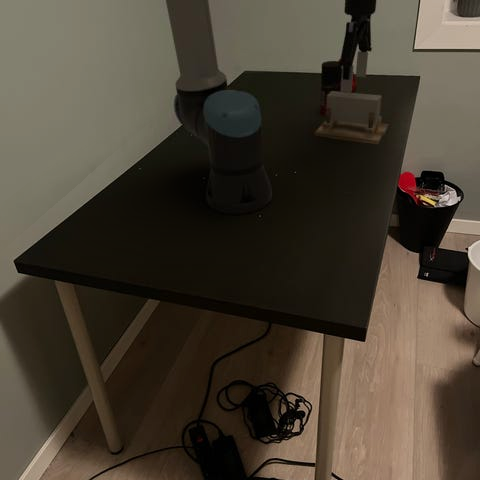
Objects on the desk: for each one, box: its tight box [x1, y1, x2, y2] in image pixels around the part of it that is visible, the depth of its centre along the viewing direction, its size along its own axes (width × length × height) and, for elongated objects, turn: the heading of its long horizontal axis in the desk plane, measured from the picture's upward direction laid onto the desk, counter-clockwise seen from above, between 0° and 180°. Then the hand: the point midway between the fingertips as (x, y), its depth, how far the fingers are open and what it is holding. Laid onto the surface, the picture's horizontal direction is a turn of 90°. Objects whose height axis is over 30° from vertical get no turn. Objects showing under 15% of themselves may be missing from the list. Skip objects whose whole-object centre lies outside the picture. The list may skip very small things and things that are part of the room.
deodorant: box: [320, 60, 342, 117], centre depth 145 cm, size 6×6×15 cm
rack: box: [314, 108, 390, 145], centre depth 135 cm, size 12×18×8 cm, turn 63°
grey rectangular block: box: [327, 91, 382, 126], centre depth 133 cm, size 4×14×7 cm, turn 62°
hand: (353, 83), depth 128 cm, fingers open, 13 cm apart
